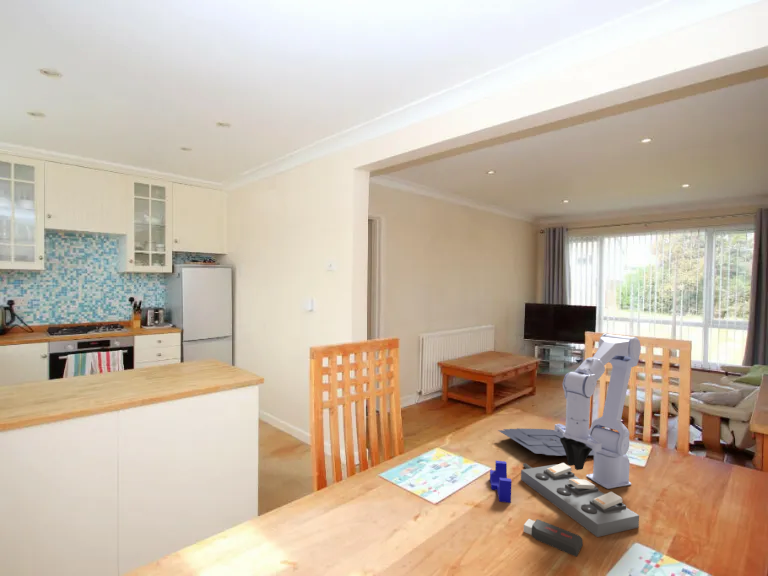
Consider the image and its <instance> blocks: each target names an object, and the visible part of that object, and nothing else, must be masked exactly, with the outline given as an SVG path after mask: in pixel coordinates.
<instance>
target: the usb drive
mask: <svg viewBox="0 0 768 576" xmlns="http://www.w3.org/2000/svg"><path fill="white" fill-rule="evenodd" d="M523 532H524V533H526V534H528V535H530V536H531V537H532V538H533V539H535V540H536V541H539V542H541V543H543V544H545V545H548V546H550V547H552V548H555V549H557V550H559V551H562V552H564V553H566V554H569V555H571V556H574V557H578V555H579V553H580V551H581V549H582V547H583V544H584V543H583V541H584V540H583V538H582V536H580V535H578V534H576V533H574V532H571V531H568V530H566V529H563V528H561V527H559V526H555V525H554V524H551V523H548V522H546V521H543V520H541V519H536V520H533V519H531V518H528V519H527V520H526V521H525V523H524V524H523Z"/></svg>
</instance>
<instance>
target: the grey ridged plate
mask: <svg viewBox="0 0 768 576" xmlns="http://www.w3.org/2000/svg"><path fill="white" fill-rule="evenodd" d="M497 432H499V433H501V434H503V435H504V436H506V437H508V438H510V439H511V440H513V441H515V442H516V443H518V444H520V445H521V446H523V447H524V448H526V449H527V450H529V451H531V452H532V453H534V454H542V455H545V456H557V457H558V456H561V457H562V456H563V457H564V456H566V453H565V450H564V447H563V445H562V443H561V441H560V438H563V434H562V433H560V432H556V431H555V429H548V428H547V429H546V428H520V427H519V428H518V427H517V428H502V430H499V429H498V430H497ZM588 456H594V451H593V449H592V450H591V452H590V453H589V455H588Z"/></svg>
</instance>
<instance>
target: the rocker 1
mask: <svg viewBox="0 0 768 576" xmlns="http://www.w3.org/2000/svg"><path fill="white" fill-rule="evenodd" d="M554 465H555V464H554ZM569 471H571V472H572V466H569V465H568V464H566V463H565V462H561V463H559V464H557V465H555V466H553V467H550V468H547V472H548V473H550V474H551V475H553V476H554V477H555V476H559V475H562V474H564V473H567V472H569Z"/></svg>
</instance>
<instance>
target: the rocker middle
mask: <svg viewBox="0 0 768 576" xmlns="http://www.w3.org/2000/svg"><path fill="white" fill-rule="evenodd" d="M569 483H570V484H572V485H573V486H575V487H576V488H583V489H595V487H596V485H595V484H593V483H592V482H591V481H589V480H587V479H584V478H583V479H581V478H579V479H569Z"/></svg>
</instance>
